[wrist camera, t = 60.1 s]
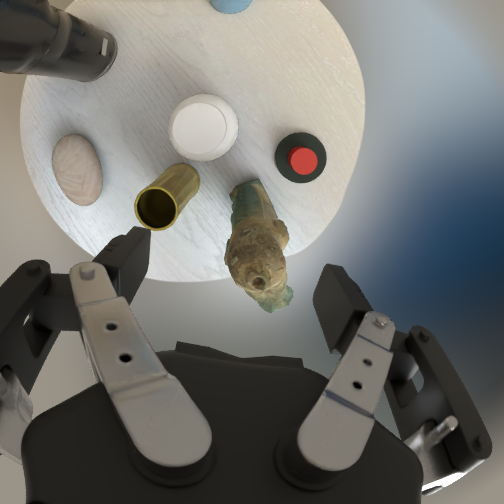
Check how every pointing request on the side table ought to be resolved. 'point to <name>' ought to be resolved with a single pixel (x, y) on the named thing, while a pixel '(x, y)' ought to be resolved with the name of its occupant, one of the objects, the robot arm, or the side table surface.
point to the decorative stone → (77, 169)
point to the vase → (166, 197)
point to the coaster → (303, 141)
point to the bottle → (230, 5)
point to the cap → (302, 160)
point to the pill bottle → (203, 127)
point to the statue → (258, 247)
